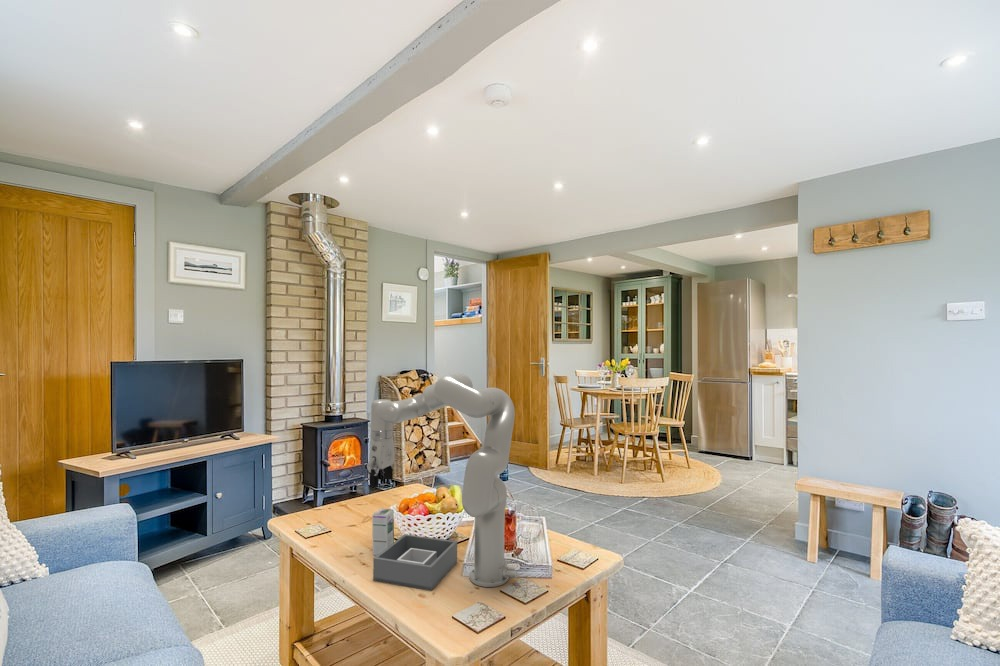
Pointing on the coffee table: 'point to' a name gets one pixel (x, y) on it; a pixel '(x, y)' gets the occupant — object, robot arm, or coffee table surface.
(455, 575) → the coffee table surface
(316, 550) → the coffee table surface
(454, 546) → the walled box
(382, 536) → the syrup box
